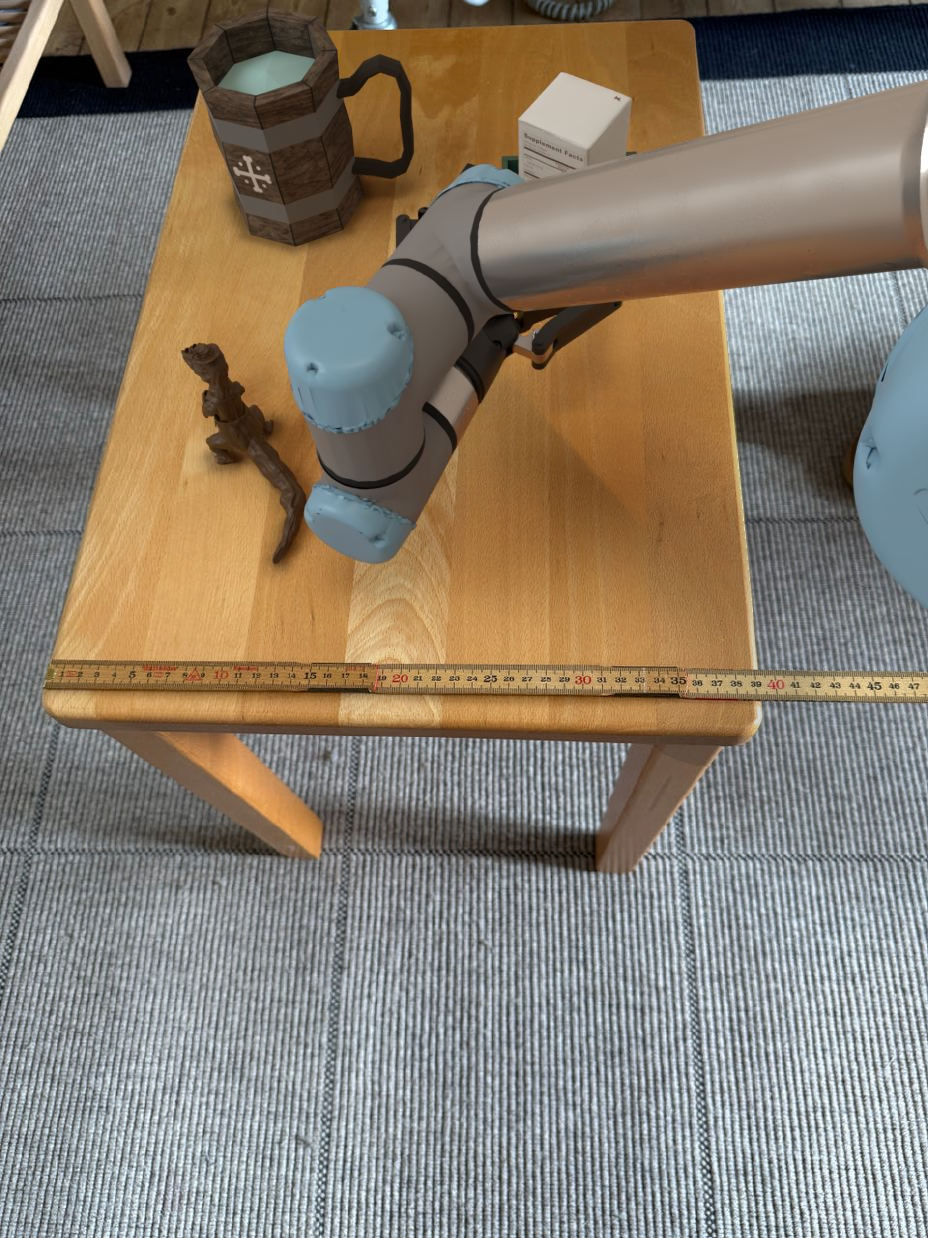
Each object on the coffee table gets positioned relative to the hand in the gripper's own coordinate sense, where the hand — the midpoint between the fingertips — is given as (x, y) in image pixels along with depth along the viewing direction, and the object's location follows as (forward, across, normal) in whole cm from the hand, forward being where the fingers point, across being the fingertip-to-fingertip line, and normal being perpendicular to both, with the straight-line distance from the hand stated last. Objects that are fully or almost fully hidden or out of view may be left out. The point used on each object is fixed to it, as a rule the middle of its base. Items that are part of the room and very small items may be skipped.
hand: (544, 196), depth 75 cm
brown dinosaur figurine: (-31, -14, -10) cm, 35 cm away
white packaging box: (+7, 0, -10) cm, 12 cm away
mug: (+3, -25, -10) cm, 27 cm away
